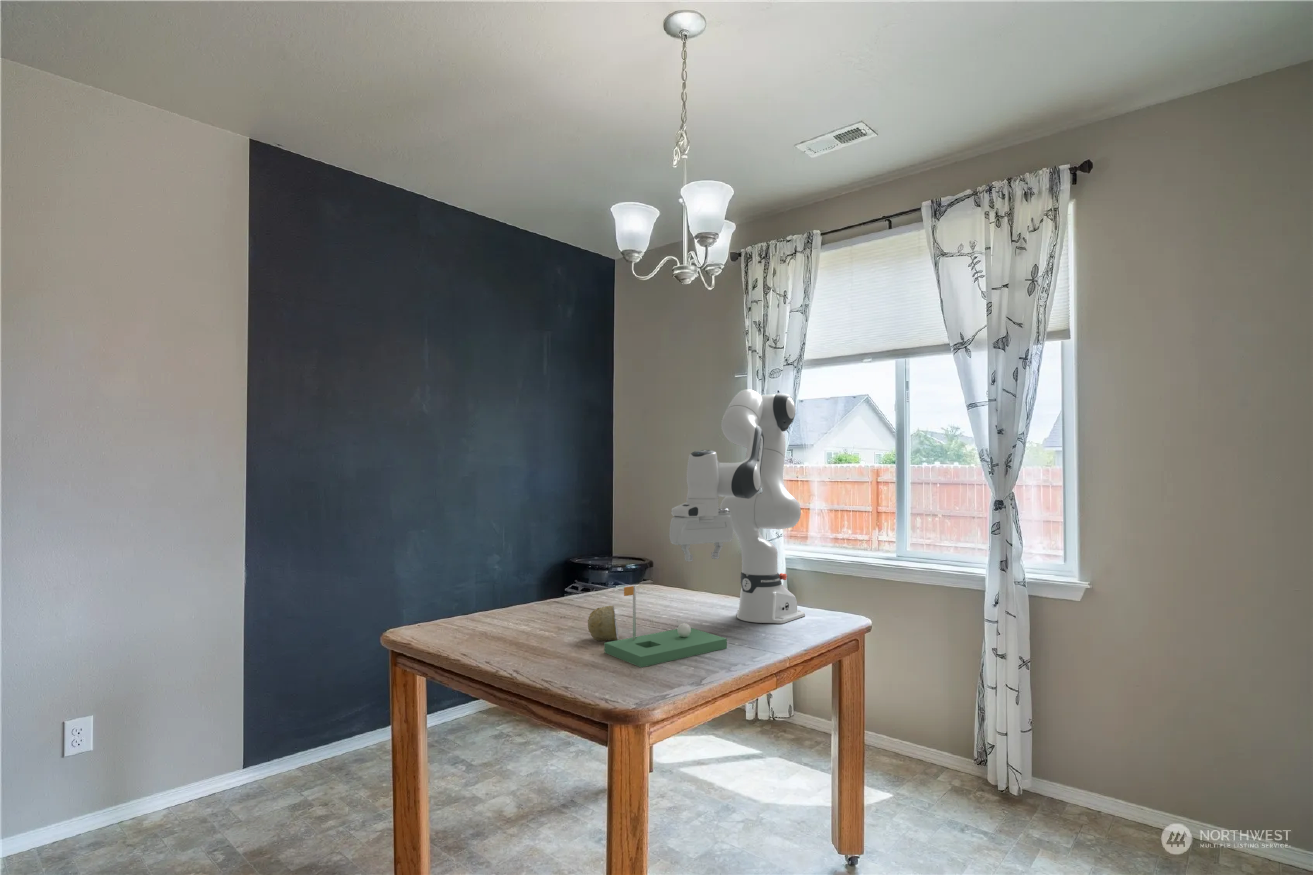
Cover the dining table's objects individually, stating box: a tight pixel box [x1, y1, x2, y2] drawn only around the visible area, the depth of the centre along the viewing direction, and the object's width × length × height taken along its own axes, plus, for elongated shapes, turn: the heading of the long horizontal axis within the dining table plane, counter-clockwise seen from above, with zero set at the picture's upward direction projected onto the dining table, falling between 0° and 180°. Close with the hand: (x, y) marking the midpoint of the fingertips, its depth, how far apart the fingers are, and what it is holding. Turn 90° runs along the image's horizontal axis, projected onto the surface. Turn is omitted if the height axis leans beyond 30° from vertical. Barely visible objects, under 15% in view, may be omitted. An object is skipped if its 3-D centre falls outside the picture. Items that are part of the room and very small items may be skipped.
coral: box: [587, 605, 619, 642], centre depth 190 cm, size 10×10×10 cm
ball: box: [676, 622, 692, 637], centre depth 183 cm, size 4×4×4 cm
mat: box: [603, 585, 728, 668], centre depth 180 cm, size 28×16×16 cm, turn 127°
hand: (702, 559), depth 188 cm, fingers open, 8 cm apart
